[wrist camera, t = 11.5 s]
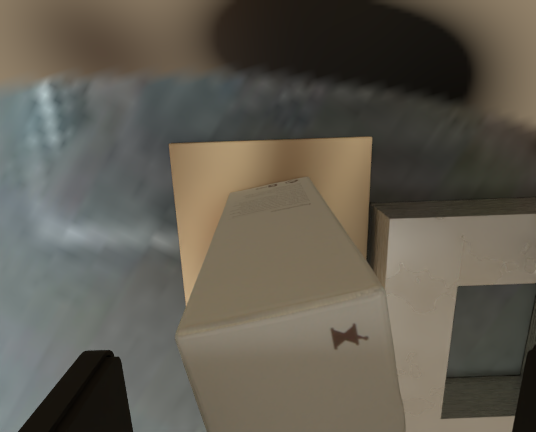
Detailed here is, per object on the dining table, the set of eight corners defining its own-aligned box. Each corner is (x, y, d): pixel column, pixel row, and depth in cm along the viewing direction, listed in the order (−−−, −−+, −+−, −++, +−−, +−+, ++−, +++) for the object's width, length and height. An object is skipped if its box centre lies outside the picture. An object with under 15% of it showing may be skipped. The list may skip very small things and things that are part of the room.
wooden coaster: (368, 136, 18) (372, 137, 17) (360, 310, 21) (363, 316, 20) (171, 143, 18) (168, 144, 17) (190, 317, 21) (188, 323, 20)
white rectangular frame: (620, 194, 19) (684, 208, 16) (564, 417, 23) (607, 461, 20) (370, 203, 19) (389, 219, 16) (359, 426, 23) (373, 470, 20)
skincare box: (226, 191, 18) (164, 327, 7) (308, 174, 18) (395, 281, 6) (252, 296, 20) (240, 552, 8) (328, 281, 20) (424, 521, 8)
